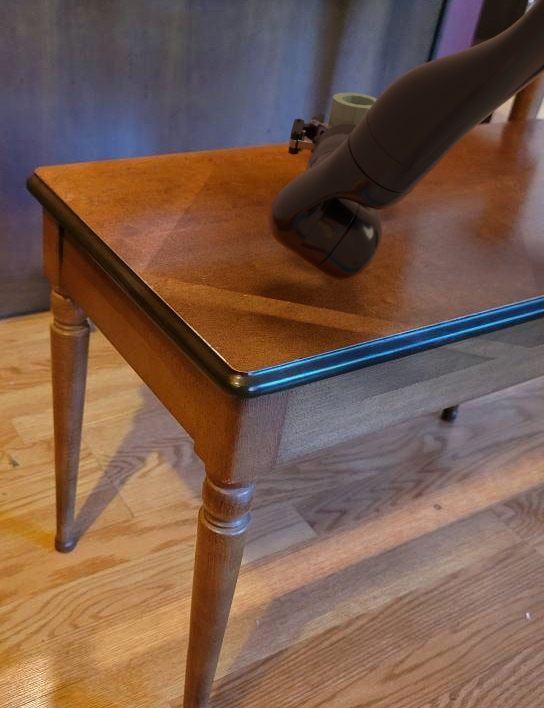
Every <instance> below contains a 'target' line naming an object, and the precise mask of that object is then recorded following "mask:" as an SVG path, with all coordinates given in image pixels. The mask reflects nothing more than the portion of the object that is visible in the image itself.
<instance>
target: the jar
mask: <svg viewBox="0 0 544 708" xmlns="http://www.w3.org/2000/svg"><path fill="white" fill-rule="evenodd" d="M377 98H378V97H374V96H371V95H368V94H363V93H357V92H339V93H335V94H333V96H332V99H331V106H330V112H329V118H328V123H330V124H331V125H333V126H336V125H339V124H353V125H357V124H358V123H359V122H360V120H361V119H362V118H363V116H364V115H365V114H366V113H367V111H368V110H369V109H370V108H371V106H372V105H373V104H374V102H375V101H376V100H377Z"/></svg>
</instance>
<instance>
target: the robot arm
mask: <svg viewBox="0 0 544 708" xmlns="http://www.w3.org/2000/svg"><path fill="white" fill-rule="evenodd" d="M543 74H544V0H536V1H535V2H534V3H533V5H532V6H531V7H530V8H528V10H527V11H526V12H525V13H524V14H523V15H522V16H521V17H520V18H519V19H518V20H517V21H515V23H513V24H512V25H510V26H509V27H507V29H505V30H503V31H502V32H501V33H498V34H497V35H496V36H494V37H491V38H489V39H486V40H485V41H483V42H480V43H479V44H476V45H474V46H472V47H468V48H465V49H462V50H460V51H457V52H454V53H451V54H448V55H445V56H441V57H438V58H436V59H433V60H431V61H430V60H429V61H428V62H425V63H423V64H420V65H418V66H416V67H414V68H412V69H410V70H409V71H407V72H405V73H404V74H402V75H401V76H399V77H398V78H397V79H395V80H394V81H393V82H392V83H391V84H390V85H389V86H388V87H386V88H385V89H384V91H383V92H382V93H381V94H380V95H379V96H378V97H376V98H377V100H376V101H375V102H374V104H373V105H372V106H371V108H370V109H369V110H368V111H367V113H366V114H365V115H364V116H363V118H362V119H361V120H360V122H359V123H358V124H357V125H353V124H339V125H336V126H333V125H331V124H330V123H329V122H325V118H326V114H325V113H319V114H318V116H313V117H312V119H310V120H309V121H308V123H305V120H304V119H302V118H295V119H294V120H293V124H292V127H291V131H290V137H289V145H288V150H287V152H288V154H290V155H292V156H293V155H294V156H295V155H299V152H301V153H303V151H304V150H307V151H310V153H311V154H310V156H309V159H308V161H307V164H306V168H305V171H303V172H301V173H300V174H299V175H297V176H296V177H294V178H293V179H292V180H291V181H290V182H288V183H287V184H286V185H285V186H283V188H282V189H281V190H280V191H279V192H278V193H277V195H276V196H275V197H274V199H273V201H272V202H271V205H270V207H269V210H268V215H267V227H268V230H269V233H270V235H271V237H272V238H273V239H274V240H275V241H276V242H277V243H278V244H279V245H280V246H282V247H283V248H285V249H286V250H288V251H289V252H291V253H292V254H293V255H295V256H296V257H298V258H299V259H301V260H303V261H304V262H305V263H307V265H310V266H311V267H312V268H314V269H316V270H317V272H319V273H321V274H323V275H324V276H326V277H327V278H330V279H332V280H336V281H347V280H352V279H355V278H356V277H358V276H359V275H361V274H362V273H364V272H365V271H366V270H367V269H369V267H370V266H371V265H372V263H373V262H374V260H375V258H376V257H377V255H378V252H379V250H380V247H381V244H382V239H383V221H382V216H381V212H380V211H386V210H390V209H392V208H393V209H394V208H395V207H396V206H398V205H399V204H401V203H402V202H403V201H404V200H405V199H406V198H407V197H408V196H409V195H411V193H412V192H413V191H414V190H415V189H416V188H417V187H418V186H419V185H420V184H421V182H423V180H424V179H426V177H427V176H428V175H429V174H430V173H431V172H432V171H433V170H434V169H435V168H436V167H437V166H438V165H439V164H440V162H441V161H442V160H444V158H445V157H446V156H447V155H448V153H450V152H451V151H452V150H453V149H454V148H455V147H457V145H458V144H459V143H460V142H461V141H462V140H463V139H464V138H466V136H467V135H468V134H470V133H471V132H472V131H473V130H474V129H475V128H476V127H478V125H479V124H481V123H482V122H483V121H484V120H486V119H487V118H488V117H489V116H490V115H492V114H493V113H494V112H496V111H497V110H498V109H499V108H500V107H502V106H503V105H504V104H506V103H507V102H508V101H509V100H511V99H512V98H513V97H514V96H516V95H517V94H519V93H520V92H521V91H523V90H524V89H525V88H526V87H527V86H528V85H530V84H531V83H532V82H534V81H535V80H536V79H537V78H539V77H540V76H542V75H543Z"/></svg>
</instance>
